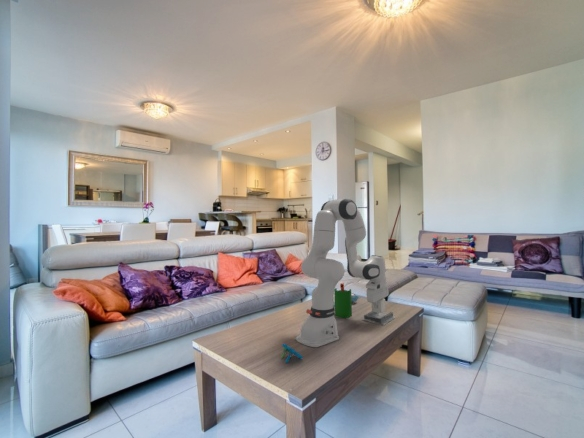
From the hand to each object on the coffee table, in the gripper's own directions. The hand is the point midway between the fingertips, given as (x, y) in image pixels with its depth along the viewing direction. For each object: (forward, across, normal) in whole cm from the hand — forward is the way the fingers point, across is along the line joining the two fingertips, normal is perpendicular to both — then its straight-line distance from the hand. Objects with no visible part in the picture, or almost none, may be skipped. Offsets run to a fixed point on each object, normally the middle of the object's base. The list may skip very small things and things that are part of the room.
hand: (378, 306), depth 160 cm
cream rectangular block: (+3, 0, 0) cm, 3 cm away
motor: (+7, +8, -19) cm, 22 cm away
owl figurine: (+8, -17, -33) cm, 37 cm away
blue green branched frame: (+7, +67, -5) cm, 68 cm away
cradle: (+7, 0, 0) cm, 7 cm away
